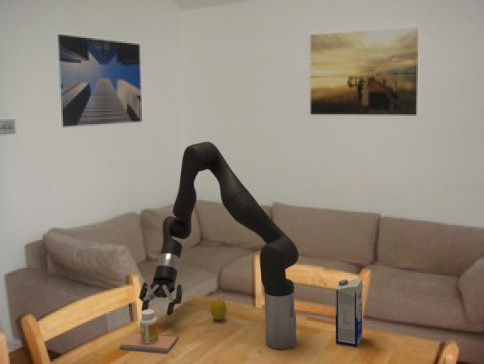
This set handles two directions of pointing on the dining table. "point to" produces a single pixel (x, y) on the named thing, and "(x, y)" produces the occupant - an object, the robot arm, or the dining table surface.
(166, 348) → the band board
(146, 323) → the supplement bottle
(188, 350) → the dining table surface
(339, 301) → the milk carton
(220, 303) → the lemon
